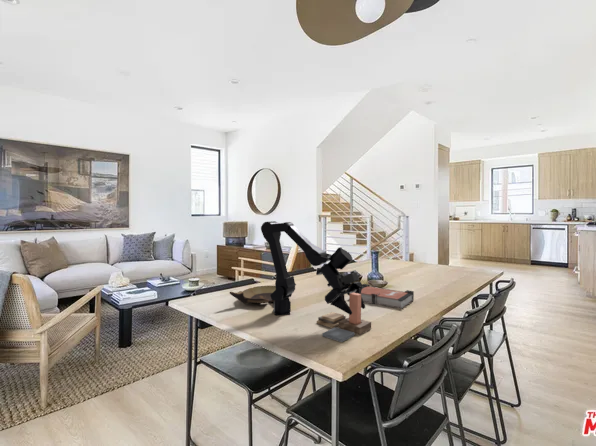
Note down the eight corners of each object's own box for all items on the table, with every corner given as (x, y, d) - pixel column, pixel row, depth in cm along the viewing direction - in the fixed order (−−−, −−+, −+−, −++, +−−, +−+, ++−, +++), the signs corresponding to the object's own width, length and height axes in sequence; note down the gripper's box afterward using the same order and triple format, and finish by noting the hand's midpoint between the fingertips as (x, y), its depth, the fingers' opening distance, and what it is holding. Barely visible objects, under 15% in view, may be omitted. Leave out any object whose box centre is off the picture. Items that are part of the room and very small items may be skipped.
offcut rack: (316, 323, 128) (316, 315, 128) (331, 317, 136) (331, 309, 135) (358, 335, 116) (358, 327, 116) (372, 328, 123) (372, 320, 123)
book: (348, 300, 162) (348, 290, 162) (363, 293, 177) (363, 283, 176) (401, 310, 147) (401, 299, 147) (413, 301, 161) (413, 291, 161)
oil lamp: (296, 304, 153) (296, 288, 153) (231, 312, 142) (231, 294, 141) (280, 293, 174) (280, 278, 173) (222, 298, 162) (222, 283, 162)
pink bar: (349, 328, 123) (349, 293, 122) (352, 326, 125) (353, 292, 124) (357, 330, 120) (357, 295, 120) (360, 328, 122) (361, 294, 122)
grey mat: (322, 336, 115) (322, 333, 115) (335, 329, 121) (335, 327, 121) (341, 342, 110) (341, 339, 110) (354, 335, 116) (354, 332, 116)
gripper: (331, 267, 117) (358, 304, 110) (359, 261, 131) (384, 293, 124) (314, 285, 123) (338, 322, 116) (342, 278, 137) (365, 310, 130)
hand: (358, 311), depth 121 cm, fingers open, 9 cm apart
